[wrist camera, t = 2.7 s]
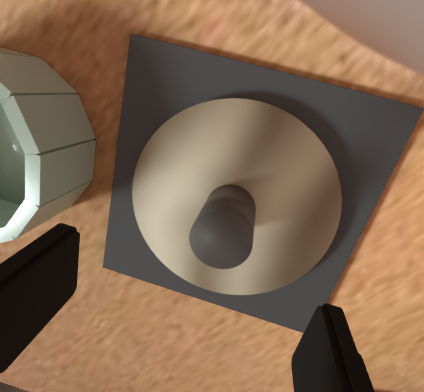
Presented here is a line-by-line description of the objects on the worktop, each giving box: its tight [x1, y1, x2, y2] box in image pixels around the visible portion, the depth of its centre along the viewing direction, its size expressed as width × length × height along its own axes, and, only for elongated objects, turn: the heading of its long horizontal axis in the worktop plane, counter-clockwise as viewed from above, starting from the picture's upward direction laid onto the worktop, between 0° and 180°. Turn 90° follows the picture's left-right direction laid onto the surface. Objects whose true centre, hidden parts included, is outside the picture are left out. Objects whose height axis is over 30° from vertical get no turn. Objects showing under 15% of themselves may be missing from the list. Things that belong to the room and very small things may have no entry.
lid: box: [132, 98, 342, 295], centre depth 19 cm, size 15×15×6 cm
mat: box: [103, 34, 424, 333], centre depth 22 cm, size 19×19×1 cm
